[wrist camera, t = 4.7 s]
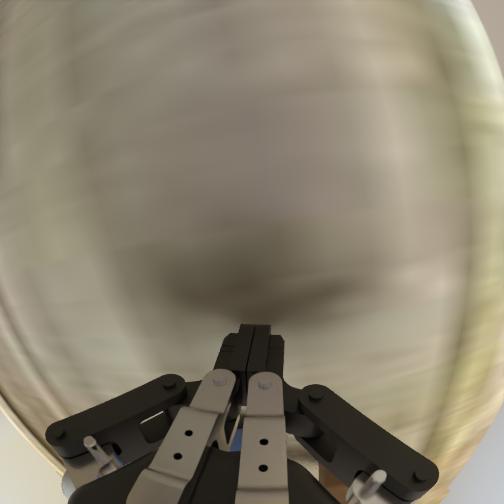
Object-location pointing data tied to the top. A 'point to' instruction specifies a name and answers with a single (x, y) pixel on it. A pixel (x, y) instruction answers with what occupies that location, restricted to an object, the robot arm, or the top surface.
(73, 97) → the top surface
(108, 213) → the top surface
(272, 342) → the robot arm
